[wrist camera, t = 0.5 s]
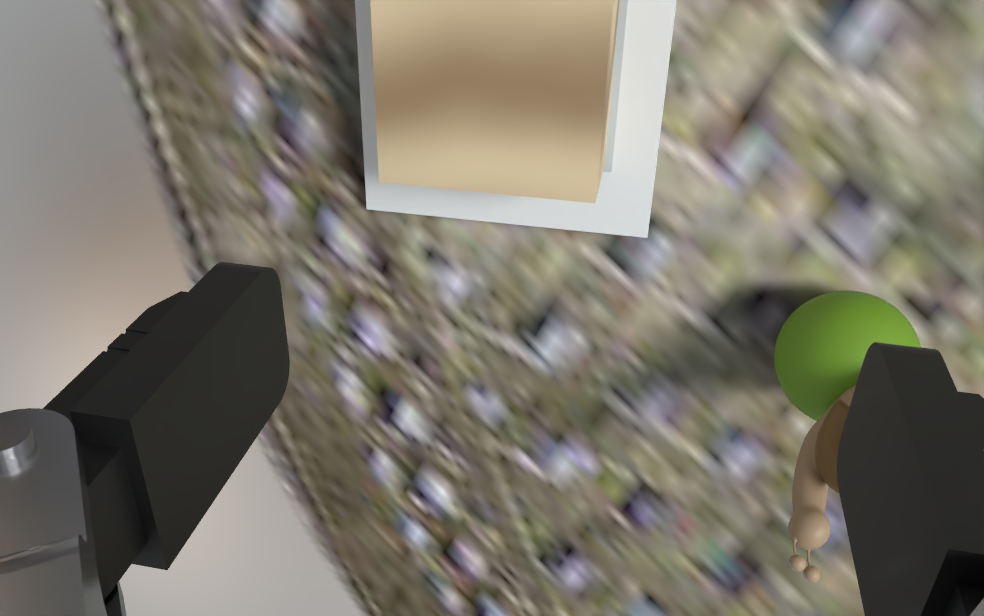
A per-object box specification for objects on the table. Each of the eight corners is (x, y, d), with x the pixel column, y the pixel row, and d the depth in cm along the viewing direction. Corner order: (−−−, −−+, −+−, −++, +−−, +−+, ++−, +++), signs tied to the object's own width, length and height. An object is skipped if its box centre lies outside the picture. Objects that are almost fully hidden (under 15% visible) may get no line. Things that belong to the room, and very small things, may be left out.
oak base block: (403, -65, 31) (367, -50, 28) (624, -54, 30) (616, -37, 27) (409, 147, 35) (379, 182, 32) (604, 164, 34) (595, 203, 31)
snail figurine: (725, 339, 38) (738, 532, 28) (842, 242, 35) (905, 420, 25) (813, 411, 39) (856, 623, 29) (934, 323, 36) (1032, 527, 25)
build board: (355, -161, 31) (345, -160, 30) (694, -151, 29) (695, -150, 28) (373, 200, 38) (366, 209, 37) (648, 227, 36) (647, 238, 35)
